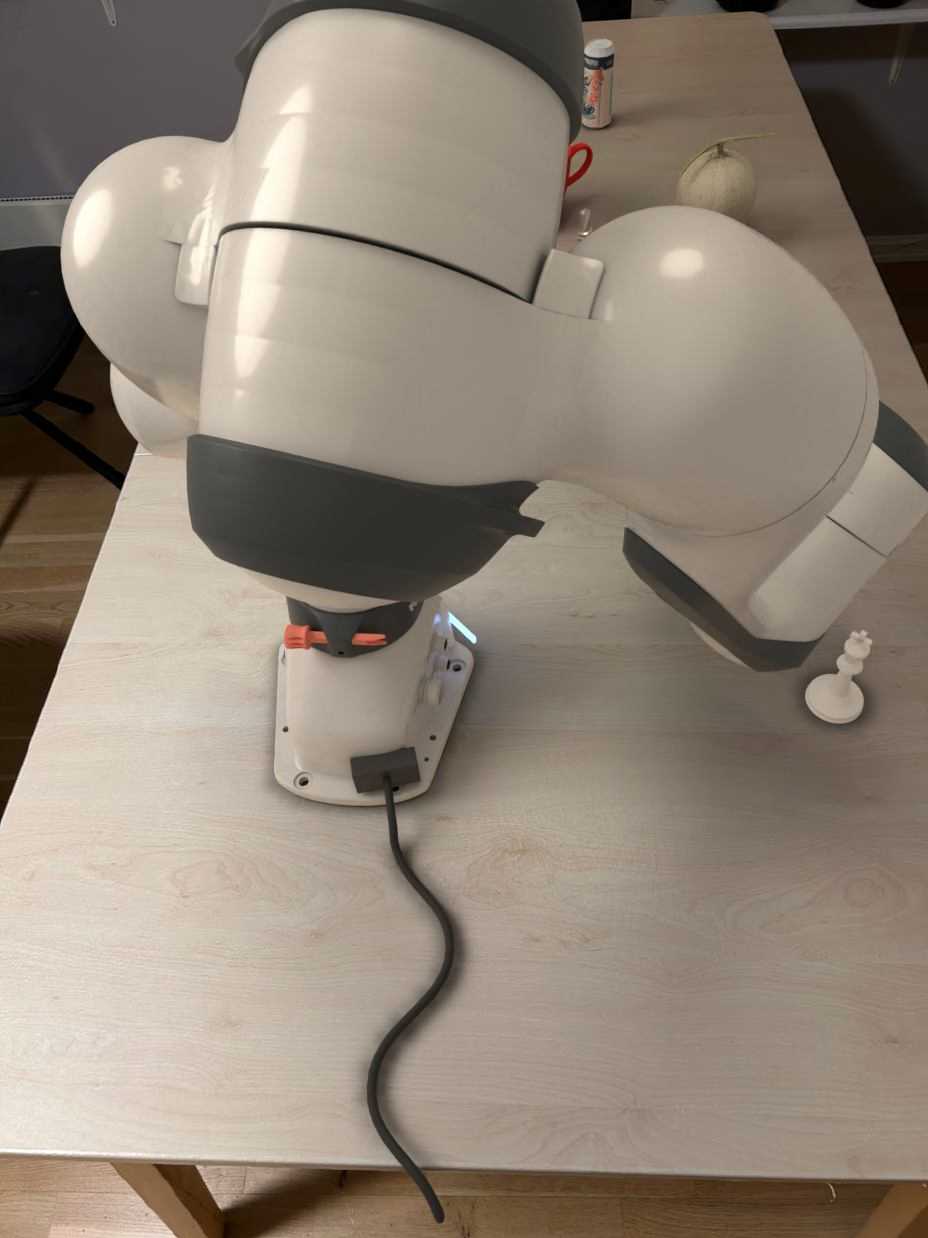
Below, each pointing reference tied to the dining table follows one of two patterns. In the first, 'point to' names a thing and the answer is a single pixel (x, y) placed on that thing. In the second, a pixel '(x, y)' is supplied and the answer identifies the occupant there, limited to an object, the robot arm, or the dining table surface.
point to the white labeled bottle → (598, 83)
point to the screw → (584, 225)
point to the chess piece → (840, 684)
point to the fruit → (719, 181)
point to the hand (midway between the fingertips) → (784, 458)
